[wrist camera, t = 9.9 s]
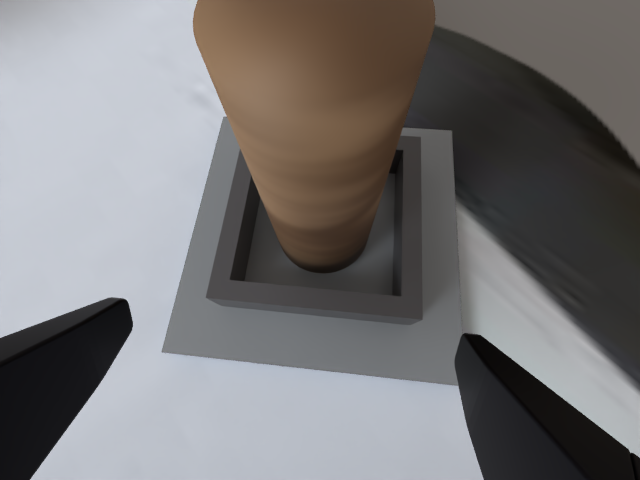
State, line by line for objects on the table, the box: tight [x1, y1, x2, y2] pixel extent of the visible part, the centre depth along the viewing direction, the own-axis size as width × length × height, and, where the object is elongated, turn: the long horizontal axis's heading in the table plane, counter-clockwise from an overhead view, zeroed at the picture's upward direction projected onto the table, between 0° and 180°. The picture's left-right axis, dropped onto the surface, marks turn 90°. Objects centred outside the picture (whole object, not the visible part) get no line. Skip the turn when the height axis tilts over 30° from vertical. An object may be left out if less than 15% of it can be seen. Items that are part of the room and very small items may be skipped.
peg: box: [193, 0, 435, 274], centre depth 13 cm, size 6×6×13 cm
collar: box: [162, 117, 462, 386], centre depth 19 cm, size 16×16×4 cm
